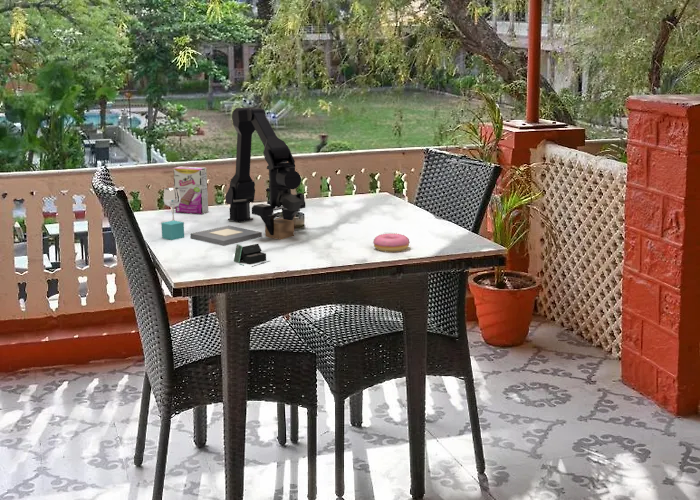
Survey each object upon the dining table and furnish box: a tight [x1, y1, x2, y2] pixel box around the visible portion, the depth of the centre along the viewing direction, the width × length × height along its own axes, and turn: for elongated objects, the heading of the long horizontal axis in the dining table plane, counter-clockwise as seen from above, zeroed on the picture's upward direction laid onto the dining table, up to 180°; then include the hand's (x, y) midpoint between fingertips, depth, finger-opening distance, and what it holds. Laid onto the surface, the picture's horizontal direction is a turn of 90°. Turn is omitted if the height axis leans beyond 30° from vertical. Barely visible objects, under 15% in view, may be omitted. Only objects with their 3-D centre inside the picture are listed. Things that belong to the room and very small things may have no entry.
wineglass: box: [163, 187, 181, 221], centre depth 325 cm, size 6×6×12 cm
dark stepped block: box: [232, 243, 270, 268], centre depth 273 cm, size 15×15×6 cm
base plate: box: [189, 225, 263, 247], centre depth 303 cm, size 16×16×2 cm
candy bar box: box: [172, 165, 209, 215], centre depth 342 cm, size 11×5×16 cm, turn 71°
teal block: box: [160, 219, 185, 241], centre depth 304 cm, size 5×5×5 cm
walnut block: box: [264, 217, 295, 241], centre depth 304 cm, size 6×6×5 cm
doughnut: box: [372, 233, 411, 253], centre depth 287 cm, size 11×11×4 cm
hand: (279, 233), depth 304 cm, fingers closed on walnut block, 6 cm apart
